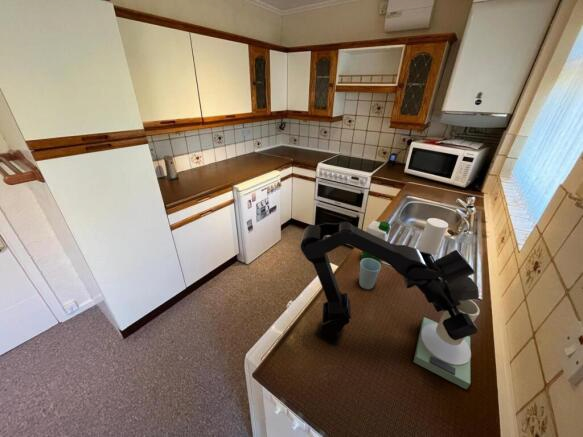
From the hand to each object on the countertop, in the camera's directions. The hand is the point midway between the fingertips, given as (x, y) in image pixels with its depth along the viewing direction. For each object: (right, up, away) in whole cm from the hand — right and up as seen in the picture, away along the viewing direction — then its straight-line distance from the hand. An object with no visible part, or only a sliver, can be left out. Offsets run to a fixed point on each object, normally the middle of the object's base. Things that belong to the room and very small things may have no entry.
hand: (461, 320), depth 66 cm
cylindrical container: (+8, +5, +37) cm, 38 cm away
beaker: (-1, -6, +3) cm, 7 cm away
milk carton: (-10, +9, +44) cm, 46 cm away
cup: (-17, +1, +30) cm, 35 cm away
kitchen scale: (-2, -12, +6) cm, 14 cm away
